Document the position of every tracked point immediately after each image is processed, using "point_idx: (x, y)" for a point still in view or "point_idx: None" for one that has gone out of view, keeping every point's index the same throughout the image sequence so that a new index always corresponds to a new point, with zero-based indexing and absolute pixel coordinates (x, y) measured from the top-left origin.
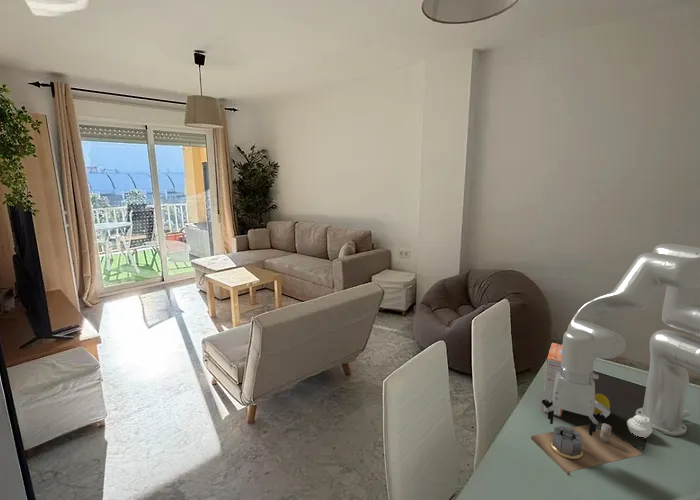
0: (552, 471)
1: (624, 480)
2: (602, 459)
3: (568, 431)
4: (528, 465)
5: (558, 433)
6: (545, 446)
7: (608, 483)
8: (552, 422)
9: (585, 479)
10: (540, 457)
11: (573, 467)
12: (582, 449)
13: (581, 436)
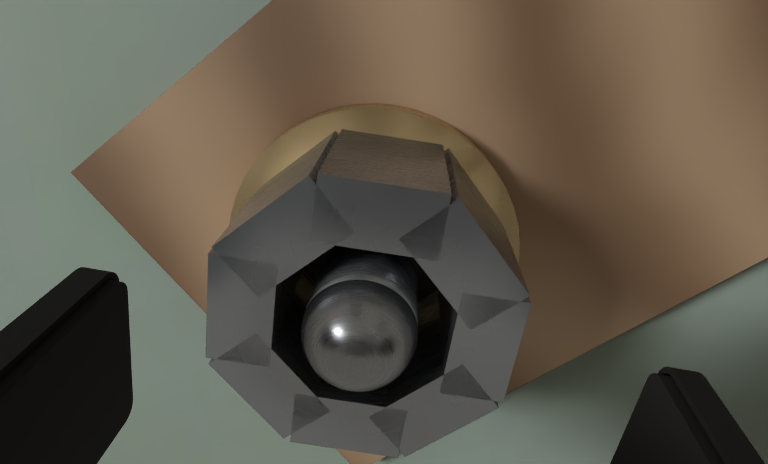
0: (265, 450)
1: (747, 383)
2: (670, 270)
3: (356, 377)
4: (116, 448)
5: (256, 341)
6: (203, 273)
7: (612, 439)
8: (110, 437)
9: (467, 451)
10: (184, 355)
11: None
12: (528, 194)
13: (524, 305)
